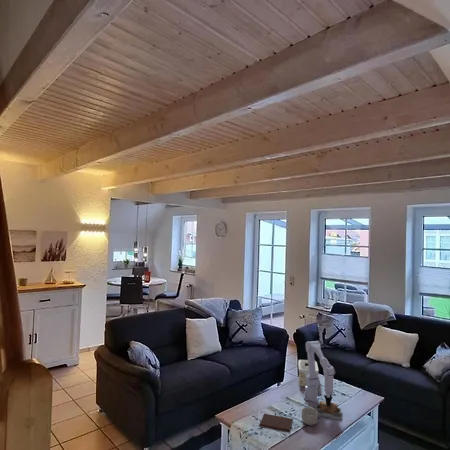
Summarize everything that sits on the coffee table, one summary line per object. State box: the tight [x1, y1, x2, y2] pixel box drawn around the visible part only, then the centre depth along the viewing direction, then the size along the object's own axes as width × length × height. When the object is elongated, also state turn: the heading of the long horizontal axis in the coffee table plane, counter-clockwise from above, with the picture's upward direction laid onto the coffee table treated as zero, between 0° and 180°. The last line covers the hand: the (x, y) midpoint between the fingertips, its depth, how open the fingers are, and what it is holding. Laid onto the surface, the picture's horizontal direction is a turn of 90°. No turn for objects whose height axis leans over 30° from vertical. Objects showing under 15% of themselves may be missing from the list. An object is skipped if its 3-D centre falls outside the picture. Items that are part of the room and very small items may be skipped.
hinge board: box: [315, 403, 343, 420], centre depth 246 cm, size 18×10×4 cm, turn 70°
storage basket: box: [297, 359, 319, 387], centre depth 298 cm, size 24×16×15 cm
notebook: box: [259, 413, 294, 433], centre depth 232 cm, size 15×20×2 cm
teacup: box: [300, 406, 319, 426], centre depth 235 cm, size 14×11×8 cm
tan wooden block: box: [319, 400, 339, 415], centre depth 246 cm, size 12×4×6 cm, turn 70°
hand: (328, 403), depth 246 cm, fingers open, 7 cm apart
